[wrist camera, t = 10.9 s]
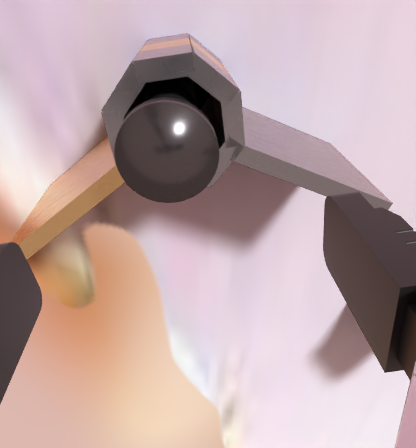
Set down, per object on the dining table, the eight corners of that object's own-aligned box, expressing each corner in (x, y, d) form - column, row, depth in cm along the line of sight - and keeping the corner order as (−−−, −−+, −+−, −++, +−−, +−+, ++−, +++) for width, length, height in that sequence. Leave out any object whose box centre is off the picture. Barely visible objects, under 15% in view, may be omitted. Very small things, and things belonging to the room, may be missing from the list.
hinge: (2, 61, 26) (-91, 94, 17) (335, 10, 26) (419, 17, 17) (53, 194, 32) (3, 272, 23) (330, 153, 31) (391, 216, 22)
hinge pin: (135, 60, 27) (101, 112, 15) (197, 50, 27) (212, 95, 15) (148, 121, 29) (128, 209, 17) (205, 113, 29) (224, 194, 17)
